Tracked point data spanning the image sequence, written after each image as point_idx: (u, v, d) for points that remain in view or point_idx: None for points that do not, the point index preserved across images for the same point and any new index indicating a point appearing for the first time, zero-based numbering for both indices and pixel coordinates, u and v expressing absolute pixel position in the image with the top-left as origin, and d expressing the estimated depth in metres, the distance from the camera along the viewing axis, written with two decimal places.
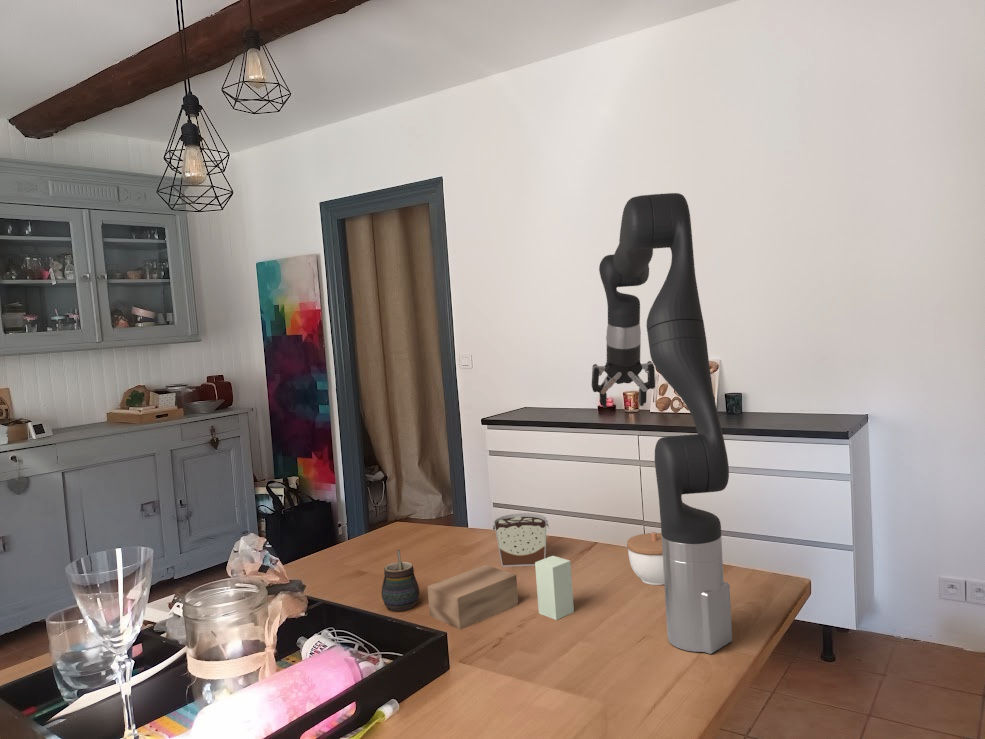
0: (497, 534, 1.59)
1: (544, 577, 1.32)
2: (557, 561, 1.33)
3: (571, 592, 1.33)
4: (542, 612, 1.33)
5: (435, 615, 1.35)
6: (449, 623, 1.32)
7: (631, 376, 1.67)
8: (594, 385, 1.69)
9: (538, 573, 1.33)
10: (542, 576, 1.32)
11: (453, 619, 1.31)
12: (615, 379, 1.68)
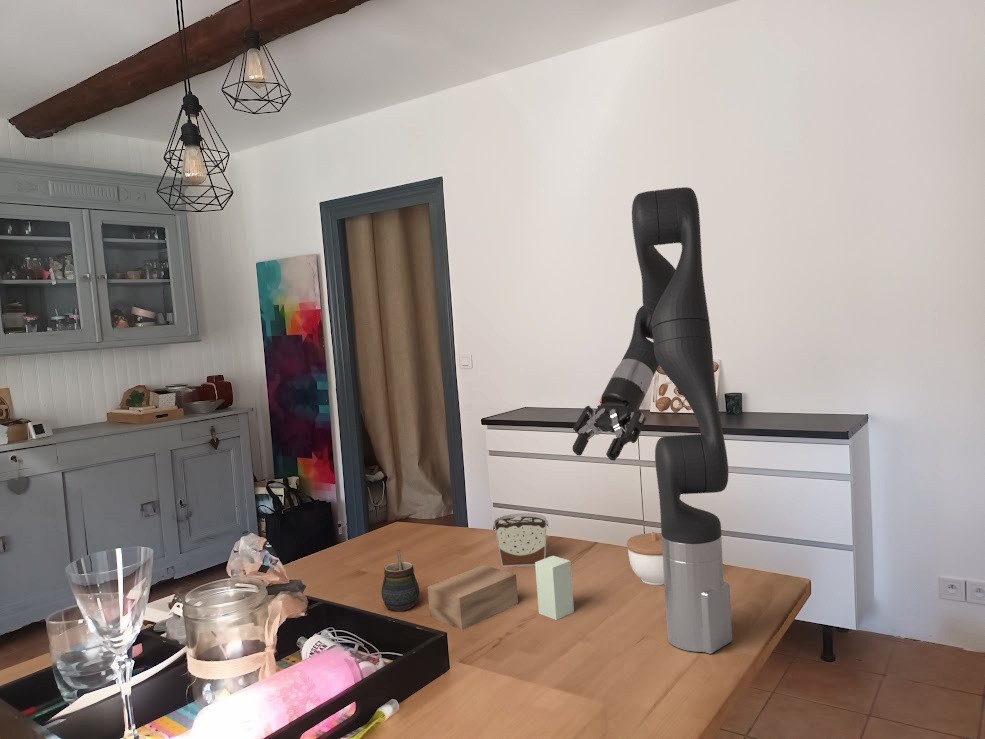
0: (497, 534, 1.59)
1: (544, 577, 1.32)
2: (557, 561, 1.33)
3: (571, 592, 1.33)
4: (542, 612, 1.33)
5: (436, 616, 1.35)
6: (450, 623, 1.32)
7: (612, 414, 1.41)
8: (577, 422, 1.46)
9: (538, 573, 1.33)
10: (542, 576, 1.32)
11: (455, 620, 1.31)
12: (597, 417, 1.43)
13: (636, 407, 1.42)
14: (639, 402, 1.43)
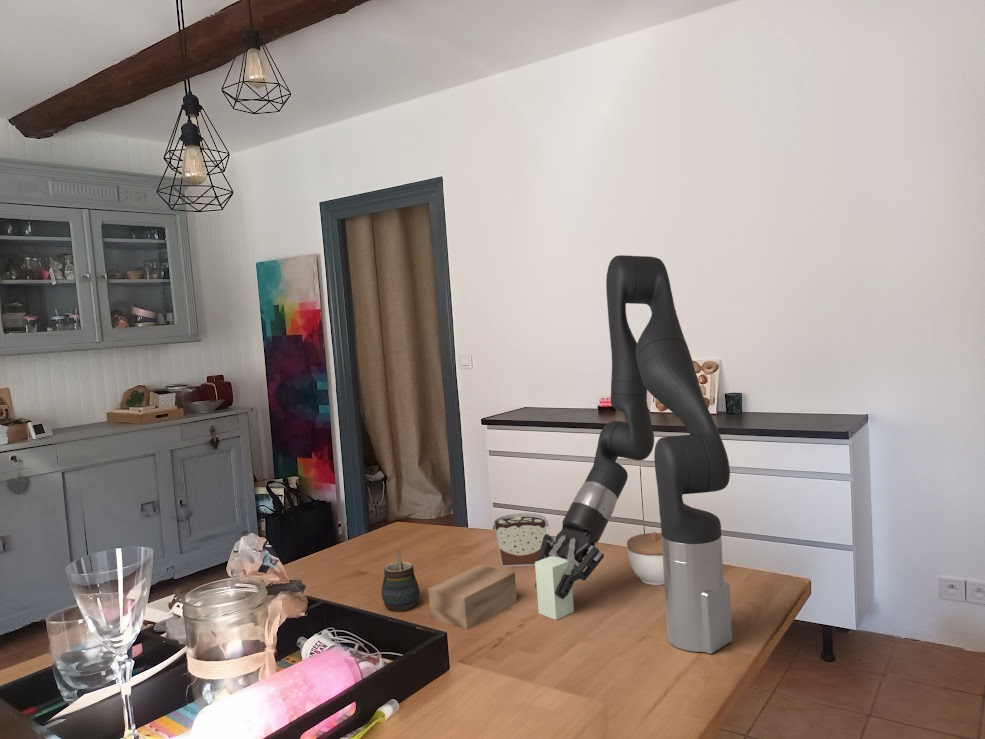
0: (497, 534, 1.59)
1: (544, 577, 1.32)
2: (557, 561, 1.33)
3: (571, 592, 1.33)
4: (542, 612, 1.33)
5: (437, 617, 1.34)
6: (454, 624, 1.31)
7: (570, 545, 1.34)
8: (540, 554, 1.38)
9: (537, 573, 1.33)
10: (542, 575, 1.32)
11: (459, 620, 1.30)
12: (557, 544, 1.36)
13: (598, 536, 1.35)
14: (601, 530, 1.36)
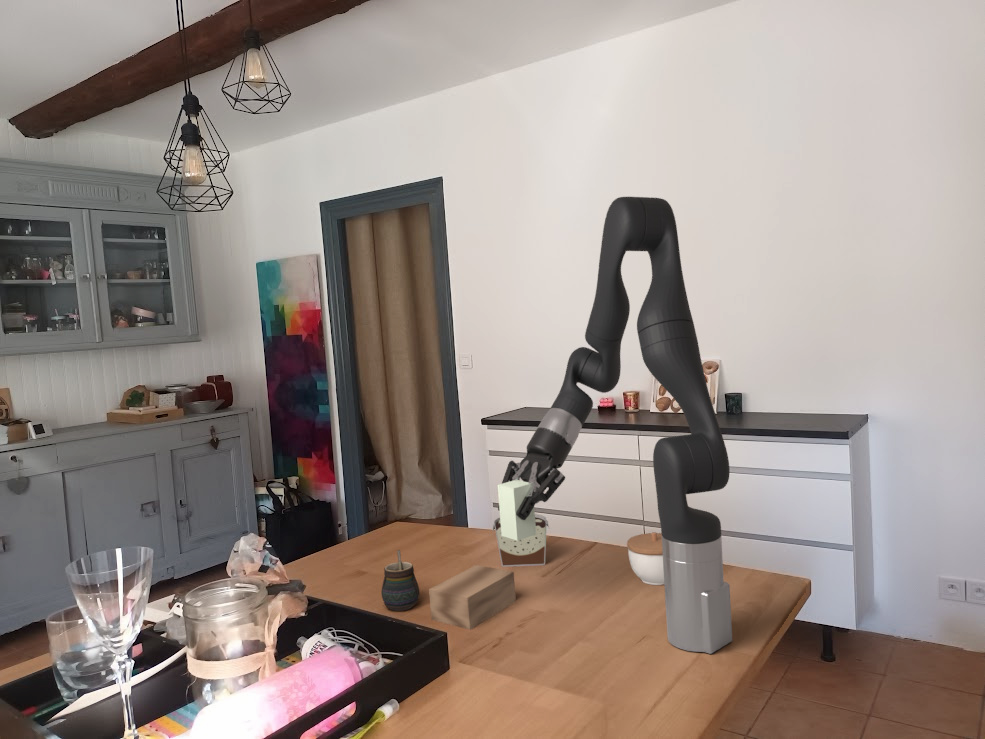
0: (497, 534, 1.59)
1: (506, 499, 1.33)
2: (519, 484, 1.34)
3: (533, 514, 1.34)
4: (504, 534, 1.34)
5: (438, 618, 1.34)
6: (456, 624, 1.31)
7: (533, 468, 1.35)
8: (504, 479, 1.39)
9: (500, 495, 1.34)
10: (504, 497, 1.33)
11: (462, 620, 1.30)
12: (520, 469, 1.37)
13: (560, 460, 1.36)
14: (564, 454, 1.37)
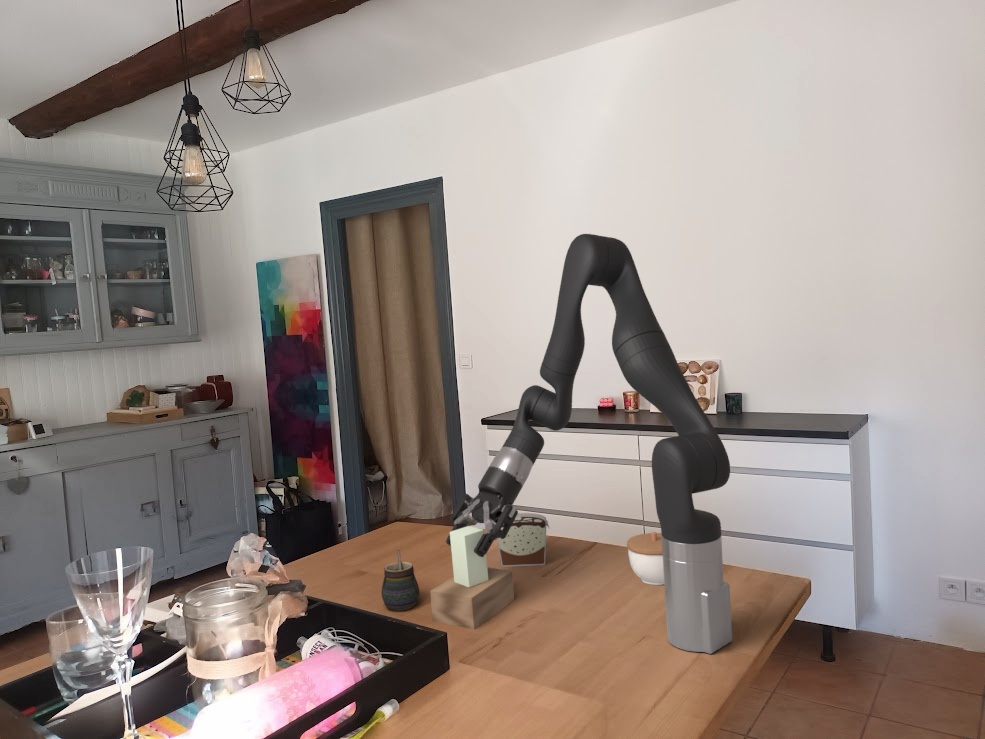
0: None
1: (457, 546, 1.35)
2: (470, 531, 1.36)
3: (485, 560, 1.36)
4: (457, 580, 1.36)
5: (440, 619, 1.33)
6: (459, 625, 1.31)
7: (484, 507, 1.37)
8: (454, 512, 1.43)
9: (452, 542, 1.36)
10: (456, 544, 1.35)
11: (466, 620, 1.30)
12: (472, 507, 1.39)
13: (511, 499, 1.38)
14: (515, 493, 1.39)
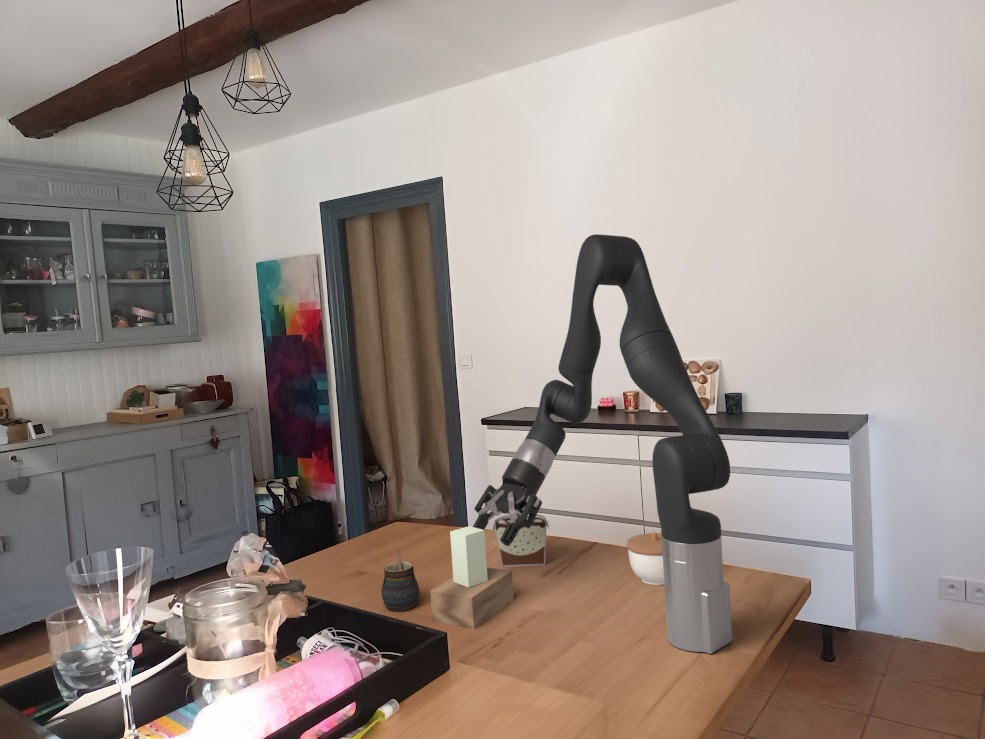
0: (497, 534, 1.59)
1: (458, 546, 1.35)
2: (471, 531, 1.36)
3: (485, 561, 1.36)
4: (456, 580, 1.36)
5: (440, 619, 1.33)
6: (459, 625, 1.31)
7: (509, 498, 1.41)
8: (478, 502, 1.47)
9: (452, 542, 1.36)
10: (456, 544, 1.35)
11: (466, 620, 1.30)
12: (496, 498, 1.43)
13: (534, 489, 1.42)
14: (538, 484, 1.43)
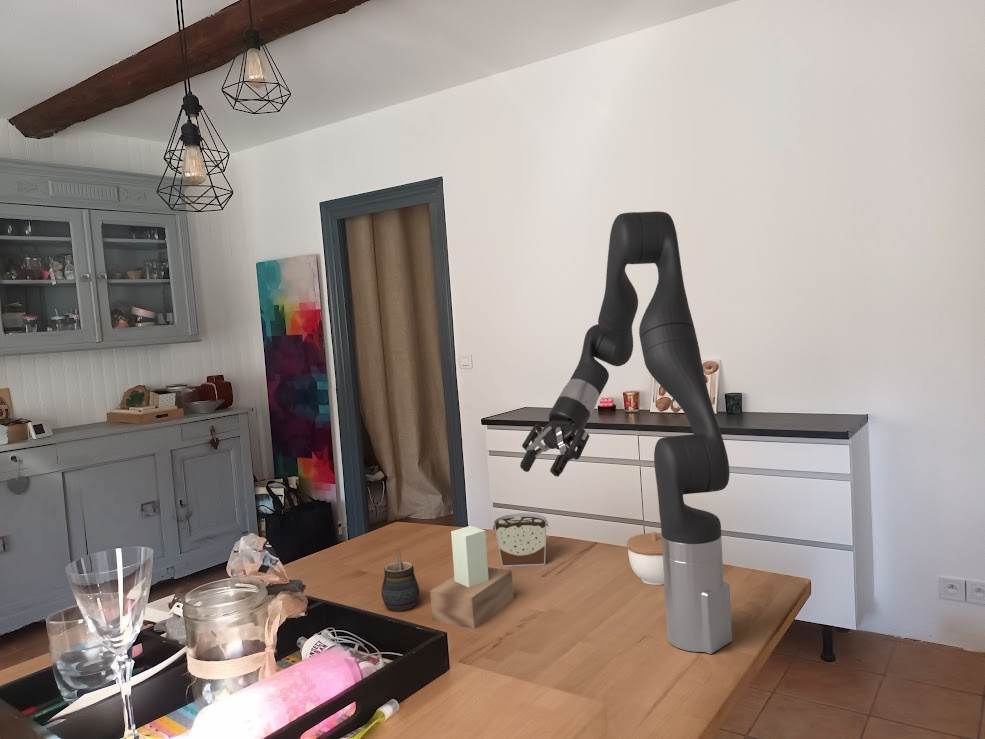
0: (497, 534, 1.59)
1: (458, 546, 1.35)
2: (472, 531, 1.36)
3: (486, 561, 1.36)
4: (457, 580, 1.36)
5: (440, 619, 1.33)
6: (459, 624, 1.31)
7: (557, 432, 1.46)
8: (526, 440, 1.52)
9: (453, 542, 1.36)
10: (457, 544, 1.35)
11: (466, 620, 1.30)
12: (544, 434, 1.49)
13: (581, 425, 1.48)
14: (584, 420, 1.48)
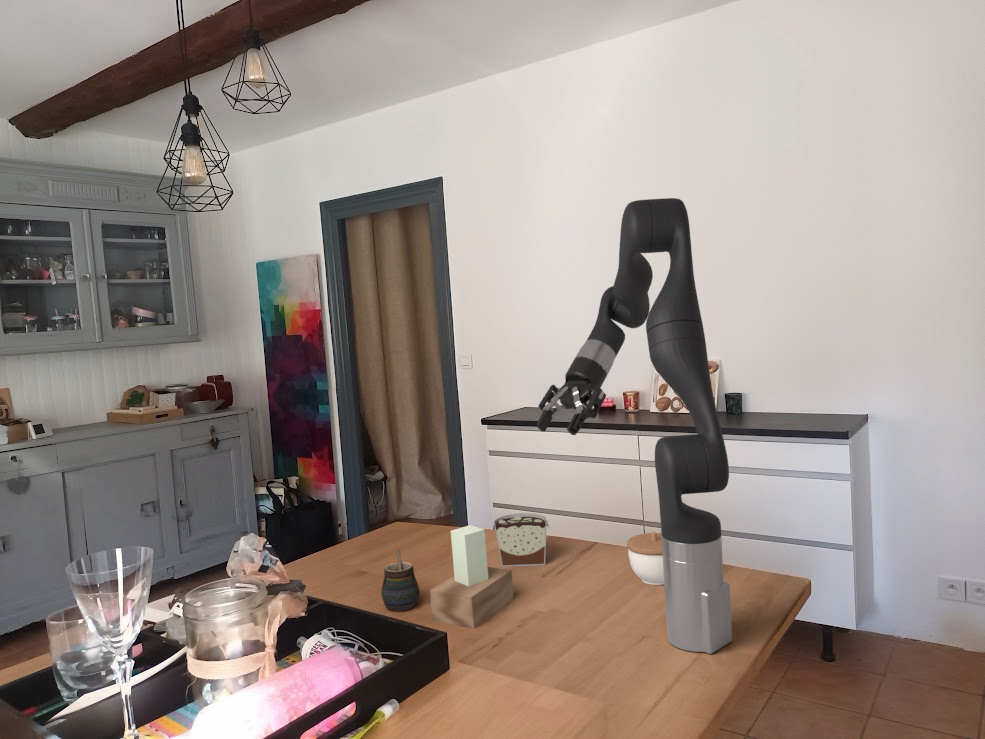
0: (497, 534, 1.59)
1: (458, 545, 1.35)
2: (471, 530, 1.36)
3: (485, 560, 1.36)
4: (457, 579, 1.37)
5: (440, 619, 1.33)
6: (459, 624, 1.31)
7: (574, 392, 1.47)
8: (542, 400, 1.53)
9: (453, 541, 1.37)
10: (456, 543, 1.36)
11: (465, 620, 1.30)
12: (560, 394, 1.49)
13: (598, 385, 1.48)
14: (601, 380, 1.49)
